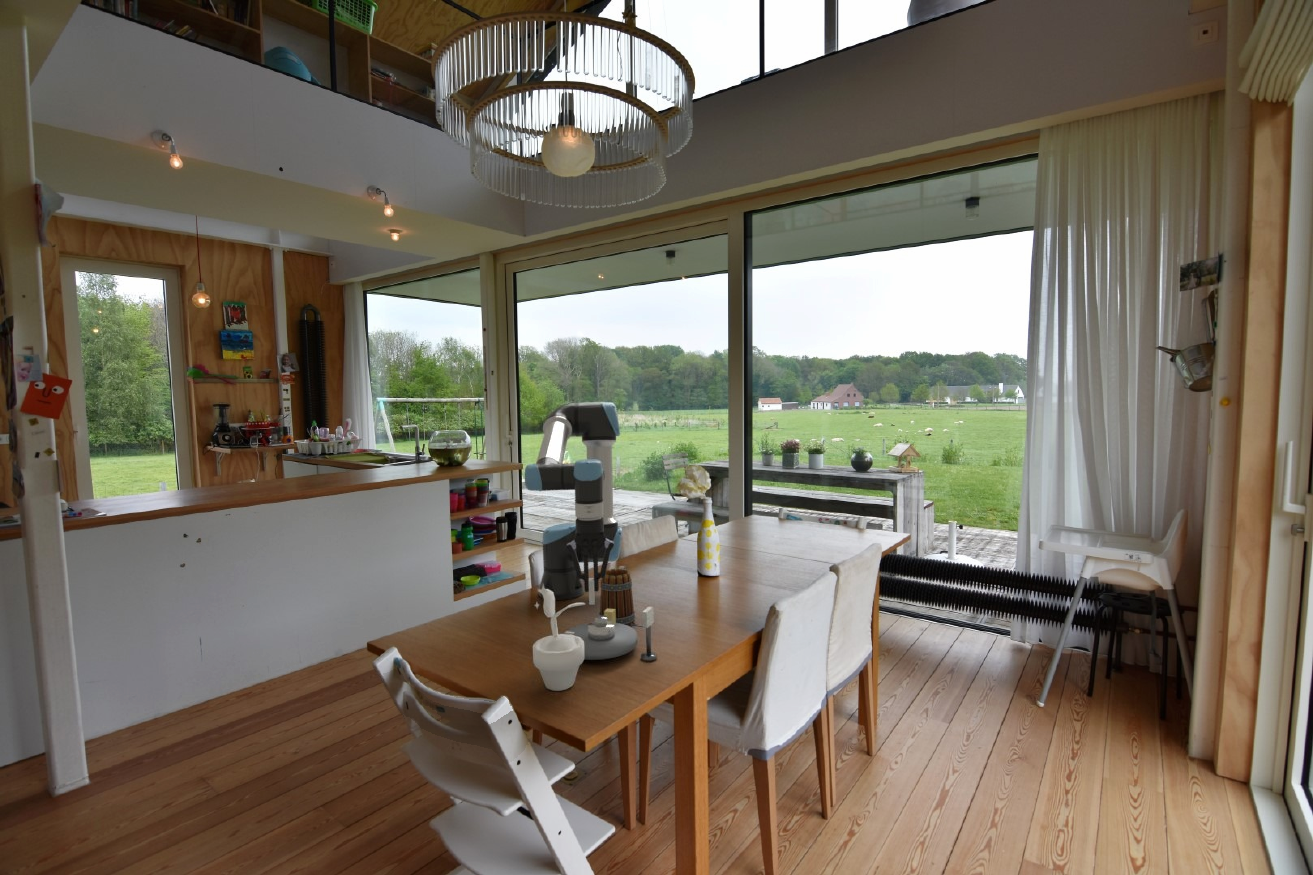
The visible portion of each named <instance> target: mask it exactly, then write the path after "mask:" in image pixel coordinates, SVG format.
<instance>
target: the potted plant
mask: <svg viewBox="0 0 1313 875" xmlns="http://www.w3.org/2000/svg"><path fill="white" fill-rule="evenodd" d="M536 591H537V592H538V593H539V592H540V593H541V594H542V595H543V598H542V599H543V605H542V606H543V613H544V614H545V616H546V617H547V618H550V628H551V633H552V635H547V636H544V637H541V638H539V639H538V640H536V641H535V642H534V643H533V644H532V660H533V661H532V662H533V665H534V666H535V668H536V669H538V670H539V673H540V675H541V678H542V681H543V683H544V686H545V687H546V689H547V690H551V691H553V692H554V691H555V692H560V691H561V692H562V691H565V690H568V689H569V688H571V687H573V686H574V684H575V682H576V678H577V675H578V672H579V668H580V666H581V665H582V664H583V663H584V660H585V659H584V658H585V657H584V641H583V640H582V639H581V638H580V637H577V636H574V635H568V634H563V633H559V631H558V624H557V623H558V622H557V617H559V616H560V615H561V614H562V613H563V612H564V611H566V610H568V609H570V608H573V607H578V606H579V607H580V606H586V603H585V602H574V603H571V604H568V605H567V606H566V607H564V608H562V609H560V610H559V611H557V612H556V600H555V597H554V593H553V592H552V591H550V590H549V589H545V588H544V585H543V587H542V589H540V590H539V589H537V590H536ZM539 606H540V604H539V603H538V601H536V604H534V607H536V609H537V610H538V608H539Z"/></svg>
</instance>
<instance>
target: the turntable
mask: <svg viewBox="0 0 1313 875" xmlns="http://www.w3.org/2000/svg"><path fill="white" fill-rule="evenodd" d="M604 615H605V616H607V620H608V621H612V622H614V623H615V637H614V638H613V639H611V640H608V641H601V642H598V641H592V640H590V639H589V638H588V624H589V623H590V622H588V623H584V624H578V625H576V626H573V627H570V628H568V629H567V630H565V631H564V632H562V634H568V635H574V636H577V637H580V638H581V639H582V640H583V641H584V657H585V658H584V660H589V661H590V660H591V661H594V660H595V661H597V660H599V661H600V660H607V659H613V658H616V657H620V656H623V655H626V654H628V653H630V652H632V651H633V650H634V649H635V648H637V645H638V632H637V631H636V630H635V628H634V627H631V626H627V625H624V624H620V623H616V611H615V609H608V608H607V609H606V610H605V611H604Z"/></svg>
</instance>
